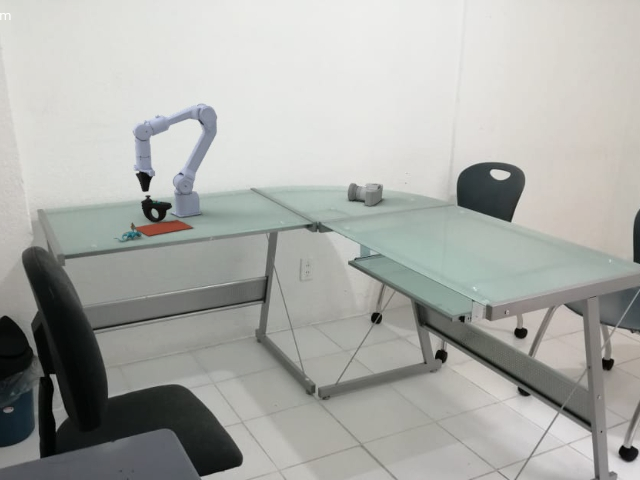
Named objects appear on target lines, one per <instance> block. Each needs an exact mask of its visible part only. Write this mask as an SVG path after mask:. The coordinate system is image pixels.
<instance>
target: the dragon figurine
mask: <svg viewBox="0 0 640 480" xmlns="http://www.w3.org/2000/svg"><path fill="white" fill-rule="evenodd" d="M136 227H137V226H136V225H135V224H134V222H133V221H132V222H131V224H130V229H131V230H129V231H125V232H123V233H122V235H121V239H122V240H121V239H120V238H117V237H113V240H114V239H116V240H118V241H119V242H122V243H124V242H125V241H126V240H128V239H131V240H134V238H136V237H138V238H142V234H143V233H142V232H140V231H138V229H135V228H136ZM135 230H136V231H135ZM124 237H126V240H125V238H124Z"/></svg>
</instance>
